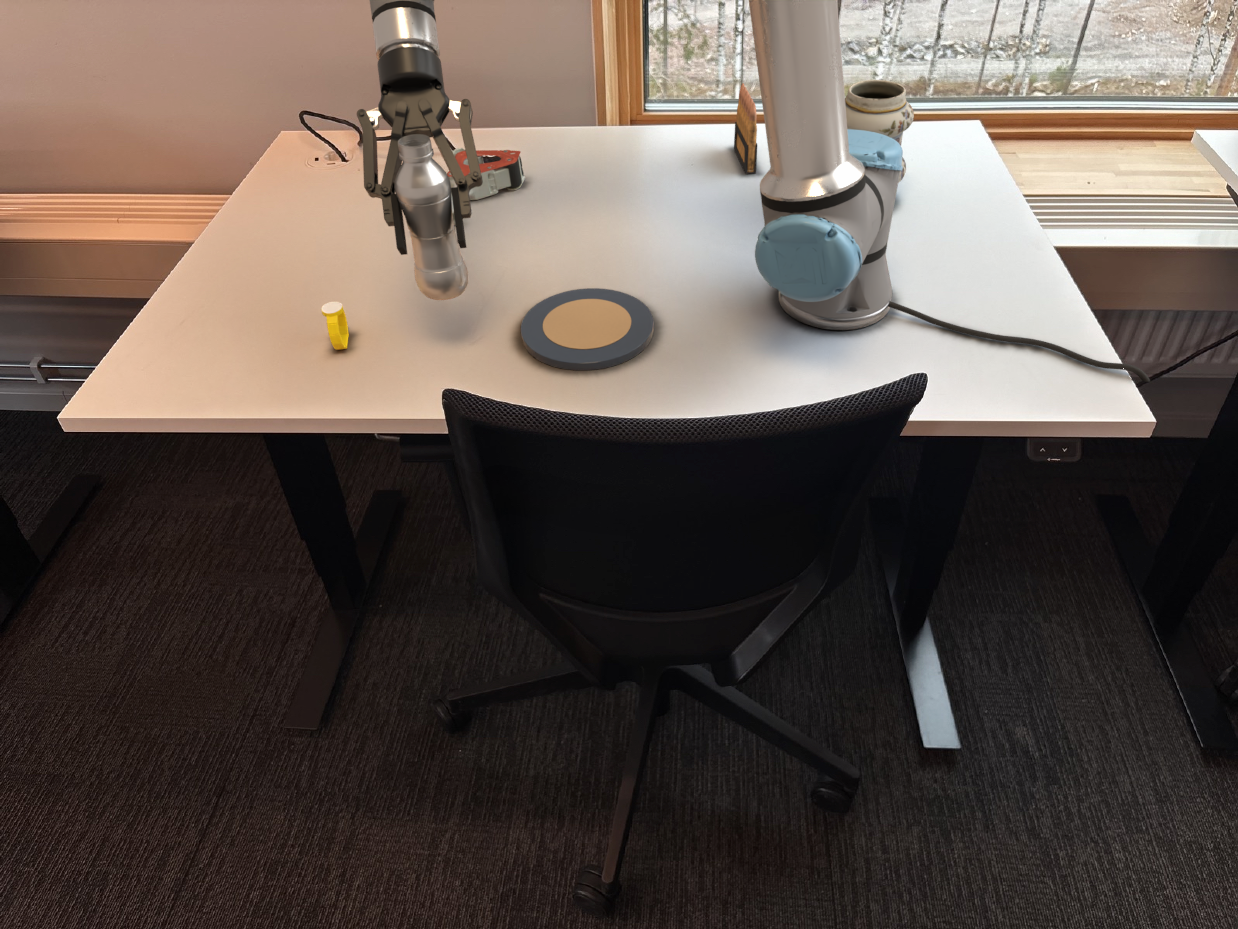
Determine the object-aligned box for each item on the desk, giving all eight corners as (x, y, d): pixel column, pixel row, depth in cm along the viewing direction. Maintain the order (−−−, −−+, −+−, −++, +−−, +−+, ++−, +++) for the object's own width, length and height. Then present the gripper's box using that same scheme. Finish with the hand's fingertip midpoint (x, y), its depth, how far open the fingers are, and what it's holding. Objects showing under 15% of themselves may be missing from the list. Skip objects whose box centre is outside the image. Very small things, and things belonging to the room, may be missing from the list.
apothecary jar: (823, 183, 151) (836, 73, 139) (897, 185, 149) (916, 74, 137) (824, 217, 142) (838, 103, 130) (902, 220, 141) (923, 104, 128)
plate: (679, 320, 123) (679, 312, 122) (598, 387, 112) (597, 379, 112) (578, 282, 131) (577, 274, 130) (494, 341, 121) (492, 333, 120)
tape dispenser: (445, 240, 145) (549, 197, 152) (438, 211, 141) (545, 168, 148) (399, 197, 155) (499, 158, 162) (391, 168, 152) (494, 130, 158)
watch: (335, 332, 124) (323, 295, 120) (355, 330, 124) (344, 293, 120) (330, 357, 120) (318, 319, 116) (351, 355, 120) (339, 317, 116)
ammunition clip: (733, 149, 163) (736, 81, 155) (743, 148, 163) (747, 80, 155) (745, 174, 155) (749, 104, 147) (756, 173, 155) (760, 103, 147)
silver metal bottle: (462, 308, 112) (432, 153, 98) (411, 304, 113) (375, 150, 100) (477, 281, 117) (451, 129, 103) (429, 278, 118) (396, 127, 104)
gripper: (491, 67, 112) (515, 248, 111) (335, 82, 111) (357, 265, 110) (486, 35, 104) (511, 229, 103) (318, 51, 103) (342, 247, 102)
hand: (432, 247), depth 107 cm, fingers closed on silver metal bottle, 6 cm apart
